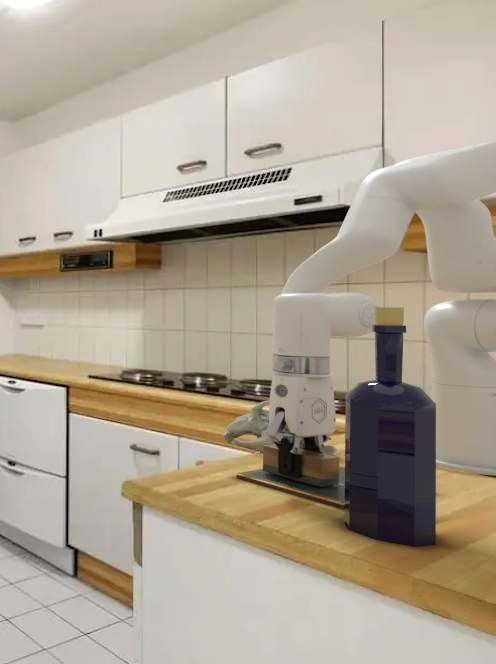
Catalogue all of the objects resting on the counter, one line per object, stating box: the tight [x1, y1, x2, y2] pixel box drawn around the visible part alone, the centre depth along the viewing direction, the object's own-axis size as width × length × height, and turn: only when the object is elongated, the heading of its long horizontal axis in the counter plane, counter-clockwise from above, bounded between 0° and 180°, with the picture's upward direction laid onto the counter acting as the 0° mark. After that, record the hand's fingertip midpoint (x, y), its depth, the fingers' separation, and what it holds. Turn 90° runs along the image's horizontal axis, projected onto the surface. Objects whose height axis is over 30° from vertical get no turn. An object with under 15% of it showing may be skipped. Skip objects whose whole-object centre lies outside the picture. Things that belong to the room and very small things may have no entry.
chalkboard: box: [236, 465, 345, 511], centre depth 92 cm, size 22×16×1 cm
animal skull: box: [223, 399, 338, 456], centre depth 113 cm, size 18×12×13 cm
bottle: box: [343, 306, 438, 547], centre depth 73 cm, size 9×9×30 cm
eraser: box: [262, 444, 340, 487], centre depth 92 cm, size 4×9×4 cm, turn 20°
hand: (299, 473), depth 92 cm, fingers closed on eraser, 4 cm apart
